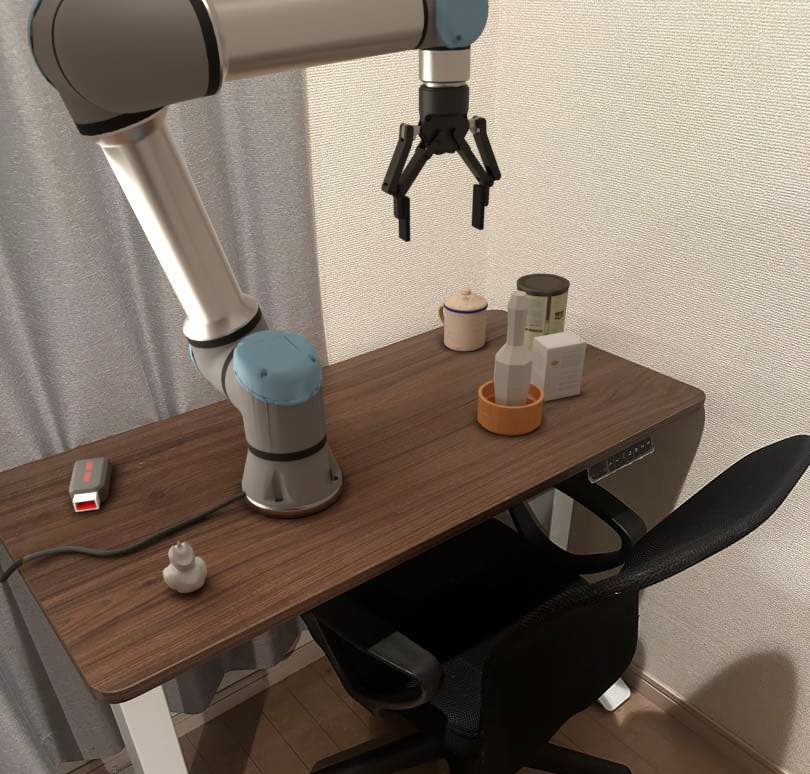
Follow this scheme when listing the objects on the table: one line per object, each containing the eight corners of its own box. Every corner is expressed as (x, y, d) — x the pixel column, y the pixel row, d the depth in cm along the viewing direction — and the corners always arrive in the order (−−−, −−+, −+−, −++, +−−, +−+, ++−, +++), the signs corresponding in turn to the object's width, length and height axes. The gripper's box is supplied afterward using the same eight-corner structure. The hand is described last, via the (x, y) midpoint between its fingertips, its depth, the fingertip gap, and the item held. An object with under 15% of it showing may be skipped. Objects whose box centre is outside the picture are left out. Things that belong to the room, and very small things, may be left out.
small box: (564, 382, 144) (571, 329, 137) (580, 395, 139) (588, 341, 133) (527, 389, 141) (532, 336, 135) (542, 402, 137) (548, 348, 131)
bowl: (506, 443, 126) (509, 414, 122) (463, 418, 133) (465, 389, 130) (554, 423, 131) (558, 395, 128) (510, 400, 138) (513, 372, 135)
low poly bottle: (496, 406, 135) (504, 284, 121) (531, 412, 133) (543, 289, 120) (486, 423, 130) (494, 297, 117) (522, 429, 128) (534, 302, 115)
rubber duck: (176, 606, 95) (163, 557, 90) (159, 578, 100) (146, 529, 95) (216, 590, 97) (206, 542, 93) (198, 563, 102) (187, 515, 97)
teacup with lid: (494, 343, 158) (498, 288, 151) (465, 356, 154) (468, 300, 146) (453, 328, 165) (454, 274, 158) (424, 340, 160) (424, 285, 153)
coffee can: (519, 336, 161) (525, 270, 152) (567, 344, 158) (575, 276, 149) (504, 355, 154) (509, 286, 145) (554, 363, 150) (562, 293, 142)
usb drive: (112, 467, 122) (107, 452, 120) (106, 509, 112) (101, 493, 111) (78, 471, 121) (73, 457, 119) (69, 514, 111) (64, 498, 110)
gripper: (503, 74, 117) (494, 217, 130) (355, 86, 109) (362, 238, 122) (529, 79, 112) (518, 228, 125) (377, 92, 103) (382, 250, 116)
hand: (441, 233), depth 123 cm, fingers open, 13 cm apart
